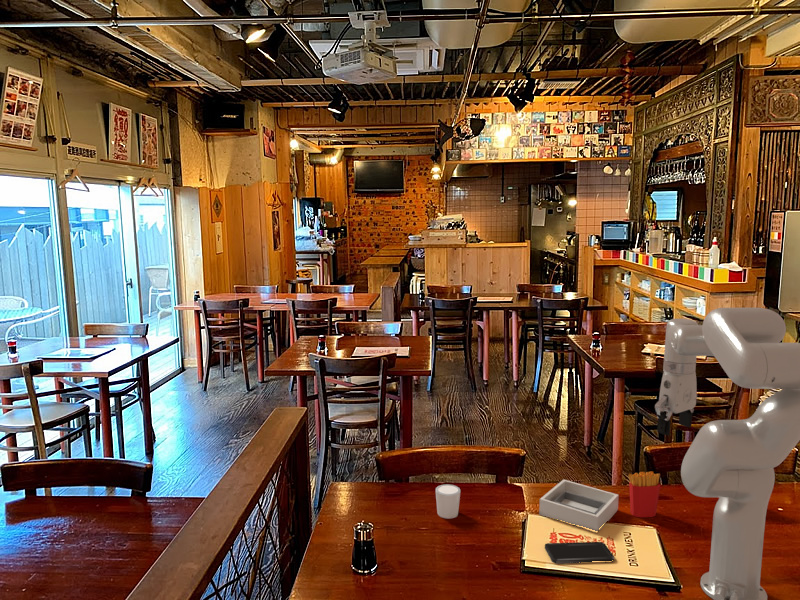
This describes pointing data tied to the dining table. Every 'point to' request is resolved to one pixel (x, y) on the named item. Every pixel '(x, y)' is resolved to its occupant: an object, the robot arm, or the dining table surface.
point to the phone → (578, 552)
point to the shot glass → (447, 500)
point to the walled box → (579, 504)
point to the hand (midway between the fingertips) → (674, 429)
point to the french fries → (644, 494)
